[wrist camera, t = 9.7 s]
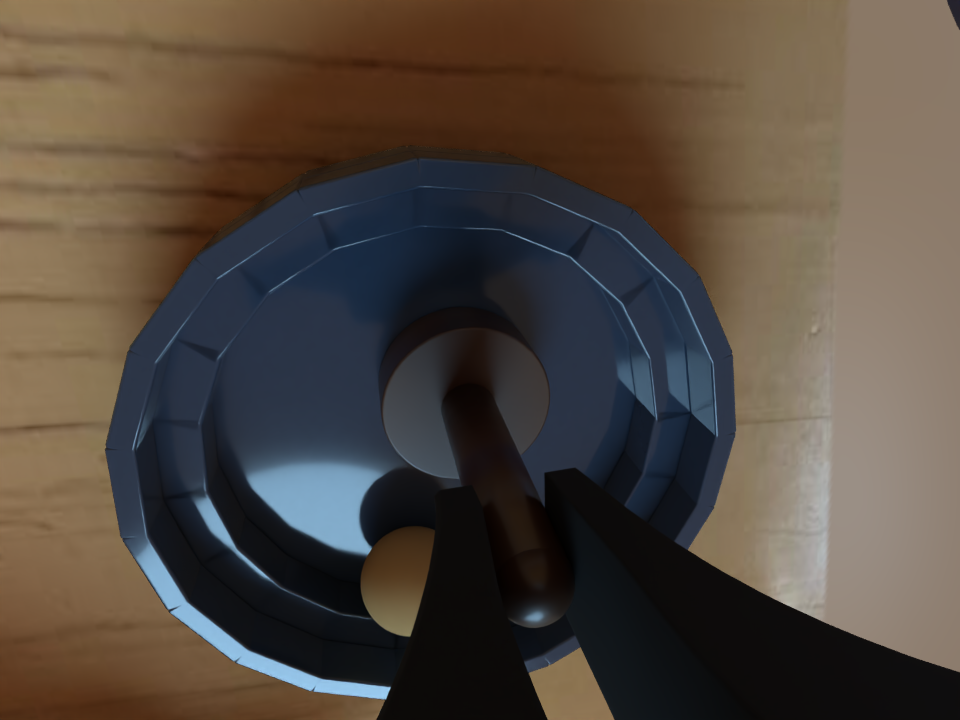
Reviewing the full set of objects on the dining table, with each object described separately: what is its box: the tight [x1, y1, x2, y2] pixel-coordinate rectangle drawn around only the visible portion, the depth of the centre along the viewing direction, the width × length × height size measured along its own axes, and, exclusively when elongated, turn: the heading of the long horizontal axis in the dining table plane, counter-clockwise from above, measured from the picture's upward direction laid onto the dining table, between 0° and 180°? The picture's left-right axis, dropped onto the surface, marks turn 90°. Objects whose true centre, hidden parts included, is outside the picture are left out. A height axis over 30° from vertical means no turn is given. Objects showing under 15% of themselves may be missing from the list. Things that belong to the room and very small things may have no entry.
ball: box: [361, 526, 435, 636], centre depth 18 cm, size 3×3×3 cm
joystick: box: [378, 307, 575, 628], centre depth 13 cm, size 4×4×8 cm
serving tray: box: [105, 145, 736, 700], centre depth 16 cm, size 15×15×3 cm
